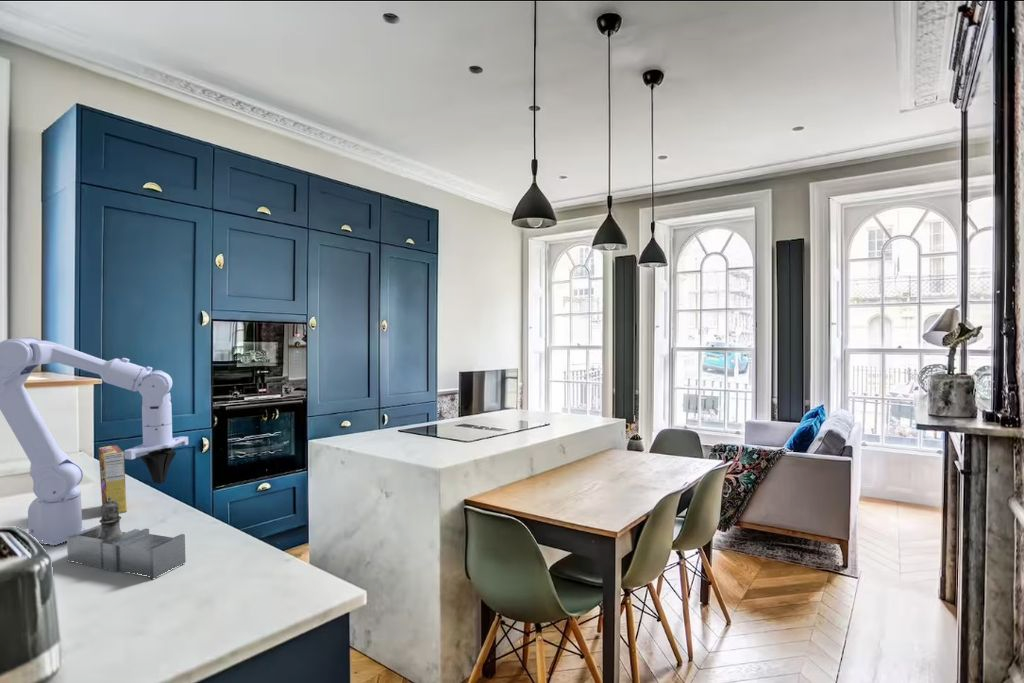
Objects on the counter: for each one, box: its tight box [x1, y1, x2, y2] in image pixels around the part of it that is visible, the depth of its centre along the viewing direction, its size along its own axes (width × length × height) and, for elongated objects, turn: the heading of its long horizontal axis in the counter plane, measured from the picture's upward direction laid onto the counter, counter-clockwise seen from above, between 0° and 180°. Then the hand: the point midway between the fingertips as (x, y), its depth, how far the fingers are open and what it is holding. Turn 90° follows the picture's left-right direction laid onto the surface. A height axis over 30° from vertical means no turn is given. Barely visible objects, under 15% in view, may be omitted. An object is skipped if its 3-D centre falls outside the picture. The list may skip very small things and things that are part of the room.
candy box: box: [98, 445, 128, 514], centre depth 137 cm, size 9×4×15 cm, turn 44°
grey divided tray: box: [66, 524, 187, 579], centre depth 108 cm, size 23×7×6 cm, turn 73°
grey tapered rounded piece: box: [97, 497, 127, 540], centre depth 111 cm, size 6×6×12 cm
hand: (159, 482), depth 127 cm, fingers closed
